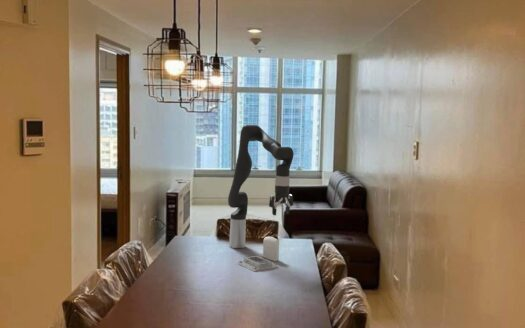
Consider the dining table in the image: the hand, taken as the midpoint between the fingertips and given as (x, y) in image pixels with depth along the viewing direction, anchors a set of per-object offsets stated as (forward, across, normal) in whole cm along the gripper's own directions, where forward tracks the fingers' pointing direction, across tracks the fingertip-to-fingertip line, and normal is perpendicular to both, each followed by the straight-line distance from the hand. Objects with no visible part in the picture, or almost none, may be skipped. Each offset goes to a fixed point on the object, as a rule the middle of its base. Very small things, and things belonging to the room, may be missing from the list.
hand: (280, 214), depth 265 cm
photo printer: (+27, -1, -9) cm, 28 cm away
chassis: (+27, +12, -2) cm, 29 cm away
